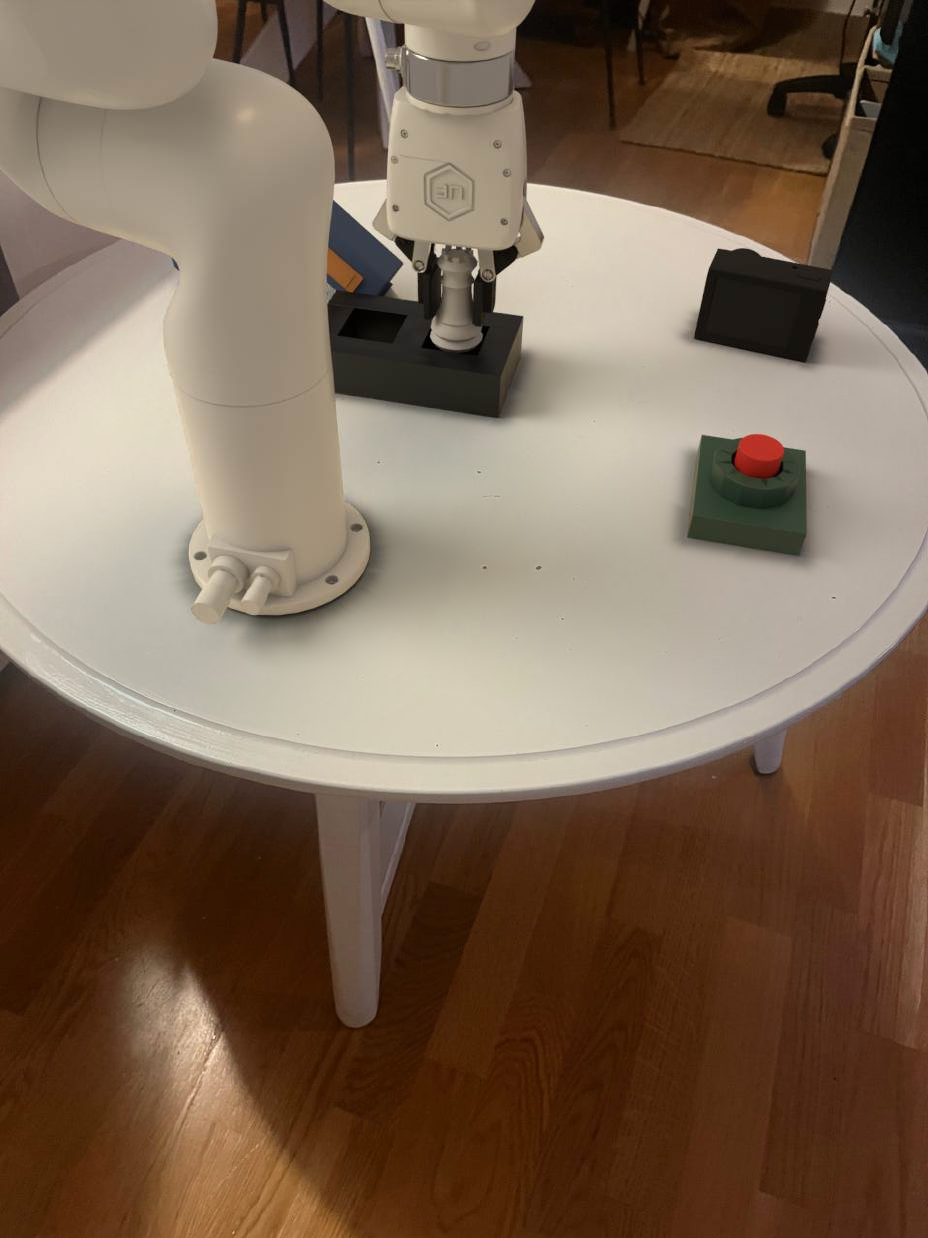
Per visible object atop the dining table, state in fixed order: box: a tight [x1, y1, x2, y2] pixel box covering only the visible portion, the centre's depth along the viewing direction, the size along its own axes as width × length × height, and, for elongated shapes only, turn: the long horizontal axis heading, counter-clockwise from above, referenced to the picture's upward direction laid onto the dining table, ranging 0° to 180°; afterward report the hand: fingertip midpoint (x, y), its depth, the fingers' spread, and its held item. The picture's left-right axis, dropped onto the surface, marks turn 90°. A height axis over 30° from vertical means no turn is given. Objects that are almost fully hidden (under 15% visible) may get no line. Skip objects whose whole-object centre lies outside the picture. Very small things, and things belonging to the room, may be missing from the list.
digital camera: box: [693, 247, 834, 362], centre depth 88 cm, size 10×5×7 cm, turn 69°
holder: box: [327, 290, 524, 419], centre depth 84 cm, size 10×17×4 cm, turn 77°
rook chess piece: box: [430, 245, 483, 353], centre depth 80 cm, size 4×4×8 cm
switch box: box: [686, 434, 808, 557], centre depth 73 cm, size 10×8×4 cm
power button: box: [734, 433, 784, 479], centre depth 71 cm, size 3×3×2 cm
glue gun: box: [170, 199, 404, 299], centre depth 91 cm, size 6×31×15 cm
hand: (456, 312), depth 81 cm, fingers closed on rook chess piece, 3 cm apart
